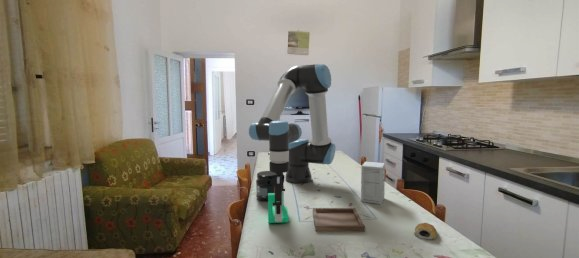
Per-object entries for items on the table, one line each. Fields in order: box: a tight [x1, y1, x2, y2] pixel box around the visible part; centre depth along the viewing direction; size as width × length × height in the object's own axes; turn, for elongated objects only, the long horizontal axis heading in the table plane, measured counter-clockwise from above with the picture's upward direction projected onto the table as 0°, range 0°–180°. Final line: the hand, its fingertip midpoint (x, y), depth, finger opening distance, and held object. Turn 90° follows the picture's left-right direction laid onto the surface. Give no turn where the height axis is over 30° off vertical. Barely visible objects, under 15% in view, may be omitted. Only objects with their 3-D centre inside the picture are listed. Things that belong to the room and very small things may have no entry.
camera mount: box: [267, 193, 289, 224], centre depth 111 cm, size 12×8×10 cm, turn 4°
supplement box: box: [360, 161, 386, 205], centre depth 130 cm, size 10×9×17 cm
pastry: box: [414, 222, 438, 241], centre depth 98 cm, size 9×7×4 cm
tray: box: [312, 207, 366, 233], centre depth 108 cm, size 16×17×2 cm
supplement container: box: [255, 170, 276, 202], centre depth 133 cm, size 10×10×12 cm
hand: (279, 213), depth 112 cm, fingers open, 13 cm apart
